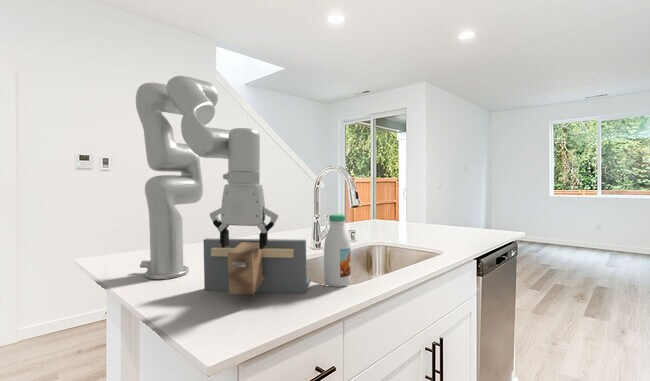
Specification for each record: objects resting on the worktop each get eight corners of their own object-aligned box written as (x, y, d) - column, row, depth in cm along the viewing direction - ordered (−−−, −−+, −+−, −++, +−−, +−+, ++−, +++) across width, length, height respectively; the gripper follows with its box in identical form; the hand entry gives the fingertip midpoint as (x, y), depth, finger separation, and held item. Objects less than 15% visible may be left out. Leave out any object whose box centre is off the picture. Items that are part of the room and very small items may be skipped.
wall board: (201, 292, 90) (200, 241, 90) (219, 279, 102) (218, 233, 102) (304, 295, 88) (303, 242, 87) (310, 281, 100) (310, 234, 99)
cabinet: (227, 295, 80) (225, 254, 79) (243, 278, 91) (241, 242, 90) (252, 295, 80) (250, 254, 79) (264, 278, 91) (263, 242, 89)
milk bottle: (330, 289, 93) (330, 217, 92) (320, 281, 100) (319, 214, 99) (355, 285, 96) (355, 215, 95) (343, 278, 103) (343, 212, 102)
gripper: (203, 178, 80) (203, 249, 81) (274, 180, 79) (273, 252, 80) (216, 178, 88) (216, 242, 89) (281, 179, 86) (281, 245, 87)
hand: (243, 247), depth 84 cm, fingers open, 9 cm apart
